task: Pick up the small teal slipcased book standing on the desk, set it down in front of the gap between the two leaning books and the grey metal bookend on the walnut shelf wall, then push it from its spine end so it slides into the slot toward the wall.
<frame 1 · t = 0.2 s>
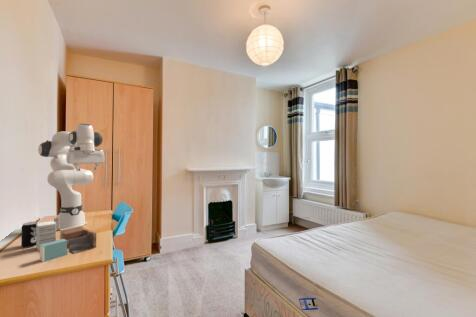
hand: (87, 170, 138), 39 cm above the table, tool pointing down, fingers open, 8 cm apart
supplement box: (46, 247, 116), on the table
shelf: (87, 244, 120), on the table
beverage can: (30, 245, 118), on the table
boxed book: (53, 257, 104), on the table
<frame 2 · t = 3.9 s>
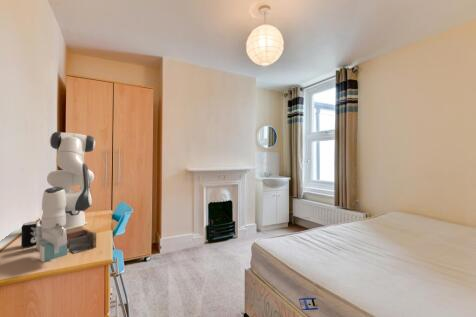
hand: (53, 251, 104), 3 cm above the table, tool pointing down, fingers closed on boxed book, 4 cm apart
boxed book: (53, 257, 104), on the table, touching gripper
everything else where it was.
when the fingers open (5 cm above the table, at t = 8.2 s): boxed book drops 2 cm, on the table.
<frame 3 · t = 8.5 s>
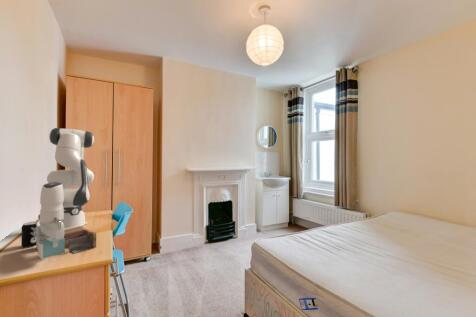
hand: (52, 245, 107), 5 cm above the table, tool pointing down, fingers open, 6 cm apart
boxed book: (51, 254, 107), on the table
everything else where it was.
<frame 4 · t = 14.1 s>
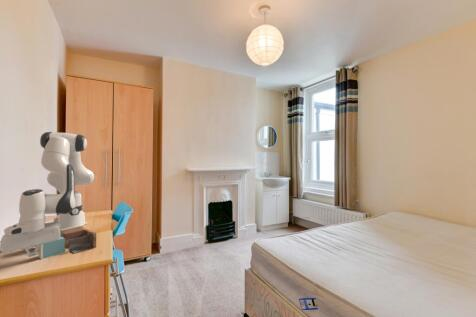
hand: (32, 255, 101), 2 cm above the table, tool pointing down, fingers closed
boxed book: (52, 254, 107), on the table, touching gripper
everything else where it was.
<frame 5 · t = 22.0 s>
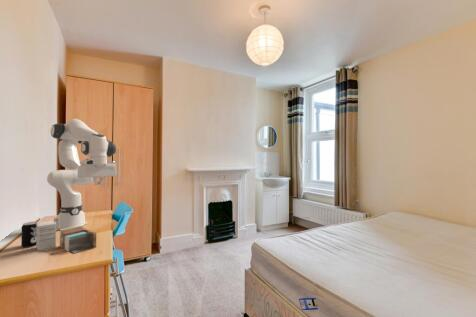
hand: (98, 184, 130), 31 cm above the table, tool pointing down, fingers closed
boxed book: (76, 247, 115), on the table, touching shelf
everything else where it was.
at the end: boxed book 1.4 cm from the target spot, on the table; boxed book tilted 0° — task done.
